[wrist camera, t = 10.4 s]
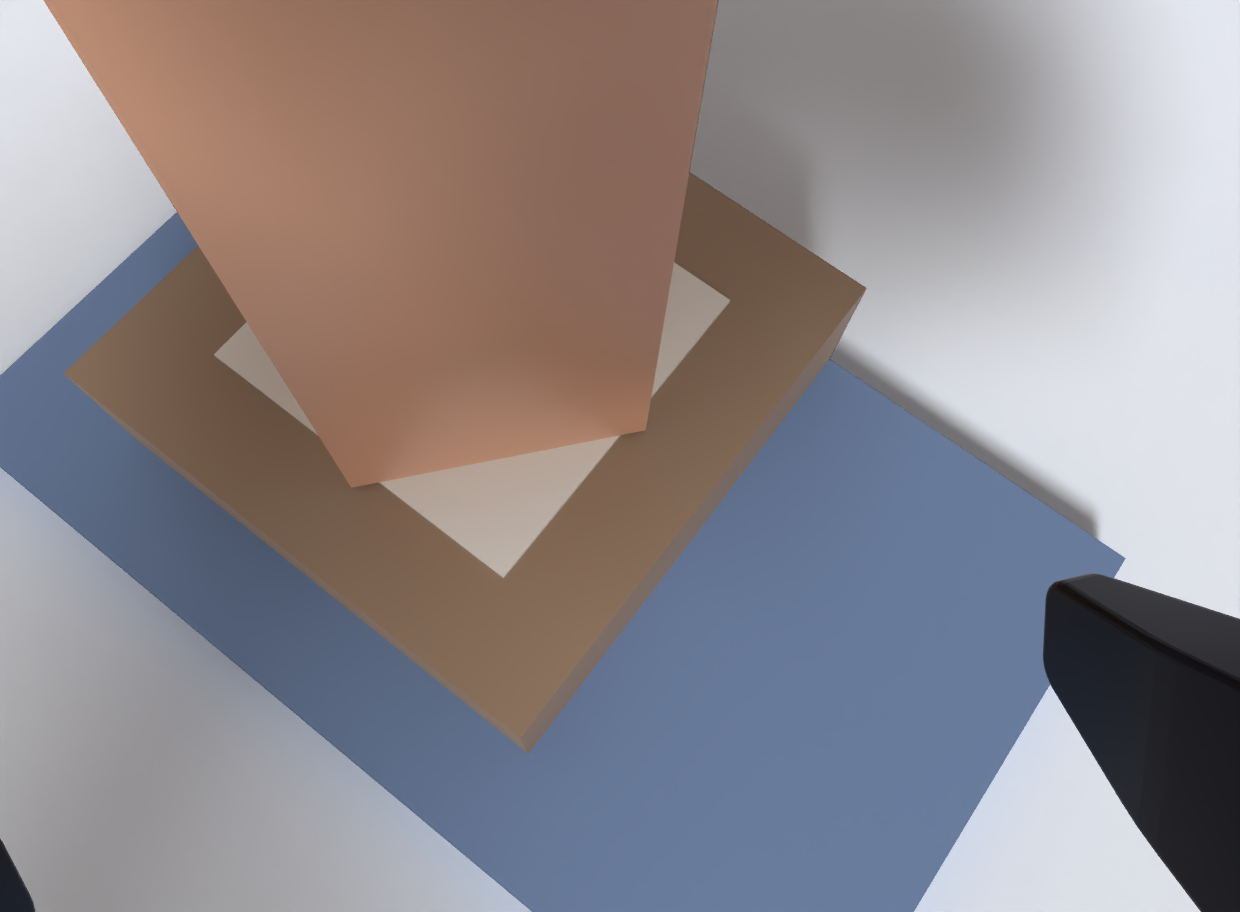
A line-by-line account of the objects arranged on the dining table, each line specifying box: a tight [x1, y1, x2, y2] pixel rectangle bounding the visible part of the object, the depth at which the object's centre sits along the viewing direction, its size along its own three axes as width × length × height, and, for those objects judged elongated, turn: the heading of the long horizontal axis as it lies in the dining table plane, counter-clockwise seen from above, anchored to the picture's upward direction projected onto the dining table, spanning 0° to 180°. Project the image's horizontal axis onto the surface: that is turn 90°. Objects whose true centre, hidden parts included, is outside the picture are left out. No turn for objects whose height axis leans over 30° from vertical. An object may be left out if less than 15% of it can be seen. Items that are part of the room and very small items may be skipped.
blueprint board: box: [0, 172, 1125, 912], centre depth 20 cm, size 20×12×4 cm, turn 53°
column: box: [44, 0, 718, 488], centre depth 12 cm, size 5×5×13 cm
